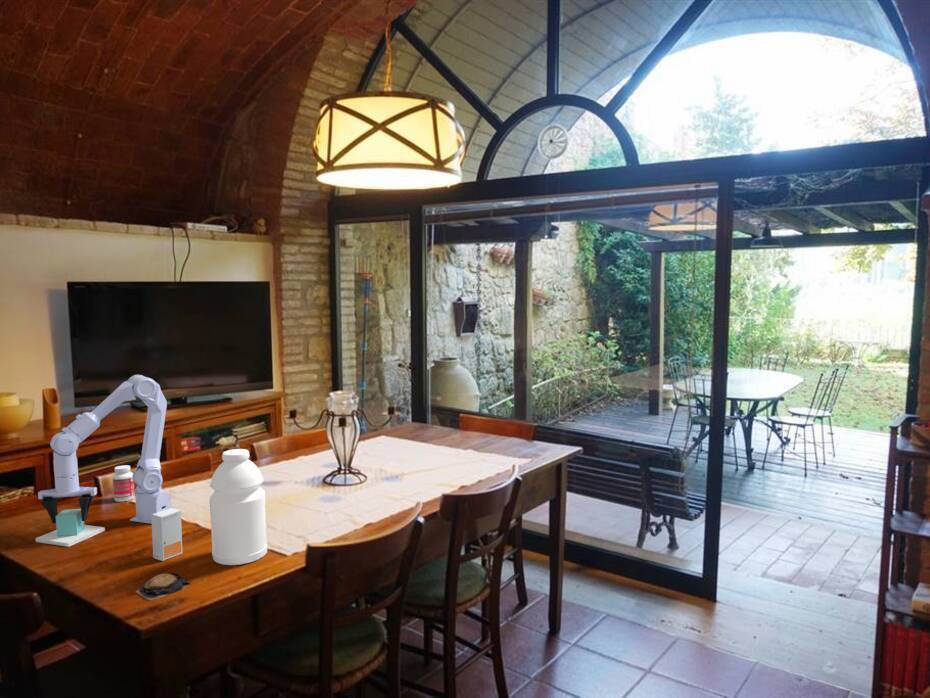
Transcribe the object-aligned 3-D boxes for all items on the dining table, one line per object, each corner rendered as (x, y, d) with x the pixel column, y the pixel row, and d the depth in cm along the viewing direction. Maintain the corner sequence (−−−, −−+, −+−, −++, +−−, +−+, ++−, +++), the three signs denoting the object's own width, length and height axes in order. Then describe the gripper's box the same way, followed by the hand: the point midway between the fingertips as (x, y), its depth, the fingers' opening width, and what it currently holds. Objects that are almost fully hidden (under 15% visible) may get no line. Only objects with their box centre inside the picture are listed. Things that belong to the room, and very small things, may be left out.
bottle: (225, 544, 179) (220, 444, 176) (274, 544, 178) (270, 444, 175) (203, 566, 165) (197, 458, 162) (256, 566, 164) (252, 459, 161)
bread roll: (149, 604, 147) (148, 589, 146) (133, 593, 152) (132, 578, 151) (194, 587, 155) (193, 572, 154) (177, 577, 160) (176, 562, 160)
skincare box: (162, 561, 168) (160, 517, 166) (152, 558, 170) (150, 514, 169) (183, 553, 173) (181, 510, 172) (174, 550, 175) (171, 507, 174)
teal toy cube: (84, 528, 188) (83, 508, 188) (77, 535, 183) (75, 514, 183) (64, 529, 187) (63, 509, 187) (57, 536, 182) (55, 516, 182)
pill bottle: (135, 499, 216) (133, 467, 215) (115, 503, 213) (112, 470, 212) (133, 494, 221) (131, 463, 220) (113, 498, 218) (111, 466, 217)
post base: (104, 530, 189) (103, 512, 189) (68, 546, 178) (67, 527, 177) (73, 526, 193) (71, 508, 192) (35, 541, 181) (34, 522, 181)
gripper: (99, 469, 189) (102, 514, 190) (44, 472, 186) (48, 518, 187) (90, 476, 182) (93, 522, 183) (33, 479, 179) (37, 527, 181)
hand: (69, 521), depth 185 cm, fingers open, 7 cm apart
